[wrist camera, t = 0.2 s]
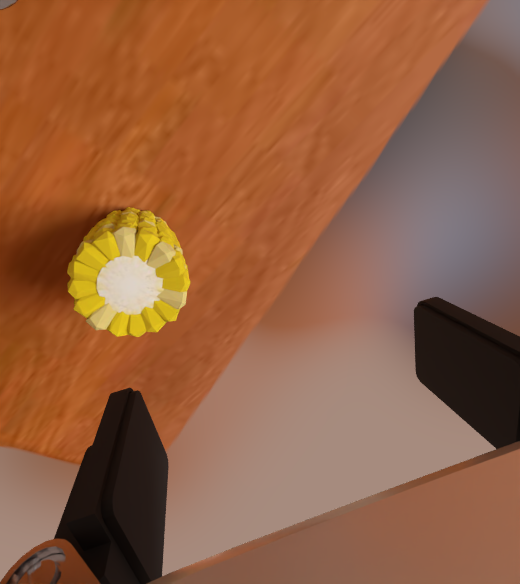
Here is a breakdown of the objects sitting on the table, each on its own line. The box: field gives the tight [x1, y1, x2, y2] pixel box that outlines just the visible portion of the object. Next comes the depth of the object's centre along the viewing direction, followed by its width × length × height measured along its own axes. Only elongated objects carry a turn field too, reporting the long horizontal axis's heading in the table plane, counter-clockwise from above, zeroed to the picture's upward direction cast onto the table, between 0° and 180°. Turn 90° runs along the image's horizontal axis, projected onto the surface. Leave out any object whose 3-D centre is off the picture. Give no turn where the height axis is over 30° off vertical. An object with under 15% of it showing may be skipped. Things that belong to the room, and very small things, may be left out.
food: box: [67, 207, 190, 337], centre depth 32 cm, size 15×12×10 cm
